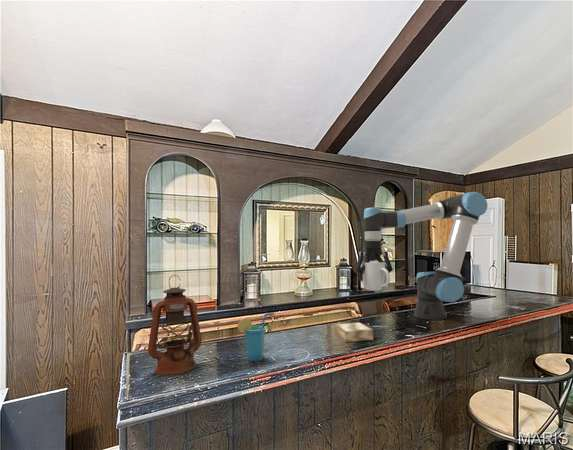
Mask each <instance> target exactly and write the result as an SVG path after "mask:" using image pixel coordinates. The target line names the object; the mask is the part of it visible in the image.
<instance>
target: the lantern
mask: <svg viewBox="0 0 573 450" xmlns="http://www.w3.org/2000/svg"><path fill="white" fill-rule="evenodd" d="M173 277H178V279H179V280H181V278H180V277H179V275H177V274H173V275H171V276H170V277H169V279H168V286H169V288H168V289H167V288H166V289H164V290H162V293H163V294H166V296H165V297H164V298H163V300H161V301H158V302H157V303H156V304H155V306H154V308H153V309H152V311H151V316H152V317H151V318H152V321H151V327H150V330H149V331H150V333H149V339H148V345H147V350H148V351H147V353H148V355H149V356H150V357H151V358H152V359H154V360H156V365H155V368H154V373H155V374H157V375H159V376H177V375H182V374H185V373H188V372H190V371H192V370H194V369H195V368H196V367H197V362H196V361H195V352H197V351H198V350H199V349H200V347H201V346H202V345H201V344H202V342H203V341H202V334H201V328H200V327H201V326H200V323H199V322H200V321H199V315H198V311H197V309H198V305H197V304H196V302H195V300H194V299H193V298H188V297H187V296H186V295H185V294H184V293H185V292H186V290H187V289H185V288H180V287H181V284H179V286H177V287H171V285H170V284H171V283H170V279H171V278H173ZM188 309H189V314H190V315H189V316H190V324H189V323H187V320H188V319H187V317H186V316H185V311H187V310H188ZM162 313H165V318H164V319H163V321H162V322H163V324H161V327H160V321H161V317H162V316H161V315H162ZM180 323H181V324H180ZM165 324H167V325H165ZM169 324H170V325H171V324H173V325H174V324H178V325H177V326H175V327H171V326H169ZM179 324H180V325H179ZM183 325H187V326H186V327H185V328H184V330H183V331H182V332H181V333H179V332H178V333H176V332H177V331H176V329H177V328H179V327H181V326H183ZM159 328H161V329H162V330H163V331H165V332H167V334H166V336H165V339H164V340H163V343H162V345H161V344H160V341H159V339H158V337H159V335H158V334H159V330H160V329H159ZM168 328H169V329H170V330H169V329H168ZM187 330H188V331H187ZM173 331H174V332H173ZM185 331H187V332H188V333H187V335H186V339H185V338H184V336H183V334H184V333H185ZM169 334H172V335H174V336H175V337H174V338H172V339H171V340H168V341H166V339H167V336H169ZM178 337H179V339H177V338H178ZM187 344H188V347H185V345H187ZM157 346H158V348H159V349H165V350H166V351H158V349H157Z"/></svg>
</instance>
